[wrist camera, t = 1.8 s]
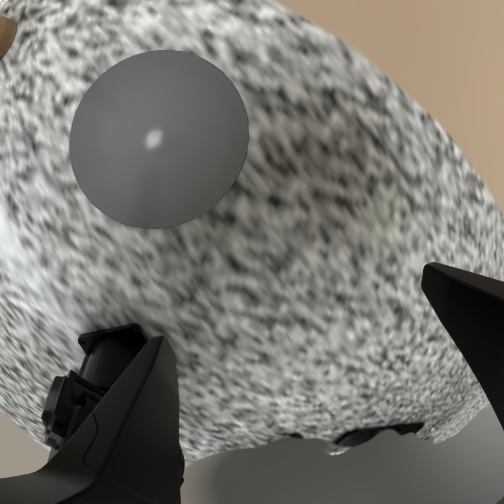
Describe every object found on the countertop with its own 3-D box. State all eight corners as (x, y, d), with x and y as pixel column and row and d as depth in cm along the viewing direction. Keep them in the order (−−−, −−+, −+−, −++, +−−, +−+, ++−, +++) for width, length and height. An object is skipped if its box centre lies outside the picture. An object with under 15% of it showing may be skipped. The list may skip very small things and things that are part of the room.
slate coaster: (101, 247, 18) (100, 249, 18) (58, 91, 13) (55, 90, 13) (264, 200, 19) (265, 201, 18) (226, 34, 14) (226, 32, 14)
